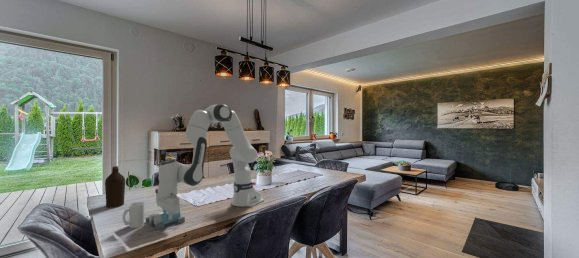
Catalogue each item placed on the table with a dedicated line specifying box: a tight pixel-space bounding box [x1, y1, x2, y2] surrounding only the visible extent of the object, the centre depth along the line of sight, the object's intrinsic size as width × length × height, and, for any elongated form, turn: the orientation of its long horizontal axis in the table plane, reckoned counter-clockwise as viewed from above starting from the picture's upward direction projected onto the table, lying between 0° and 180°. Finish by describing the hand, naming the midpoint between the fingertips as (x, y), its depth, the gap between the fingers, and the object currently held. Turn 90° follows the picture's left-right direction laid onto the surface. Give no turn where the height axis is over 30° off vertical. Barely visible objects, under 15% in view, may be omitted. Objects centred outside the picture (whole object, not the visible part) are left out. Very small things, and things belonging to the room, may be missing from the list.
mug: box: [122, 201, 145, 229], centre depth 123 cm, size 10×7×12 cm, turn 150°
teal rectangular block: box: [154, 211, 181, 225], centre depth 127 cm, size 12×3×4 cm, turn 139°
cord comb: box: [145, 216, 186, 231], centre depth 129 cm, size 14×14×4 cm
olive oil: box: [104, 165, 126, 209], centre depth 156 cm, size 11×11×25 cm
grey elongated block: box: [148, 211, 168, 223], centre depth 131 cm, size 12×3×4 cm, turn 139°
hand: (167, 218), depth 127 cm, fingers closed on teal rectangular block, 3 cm apart
